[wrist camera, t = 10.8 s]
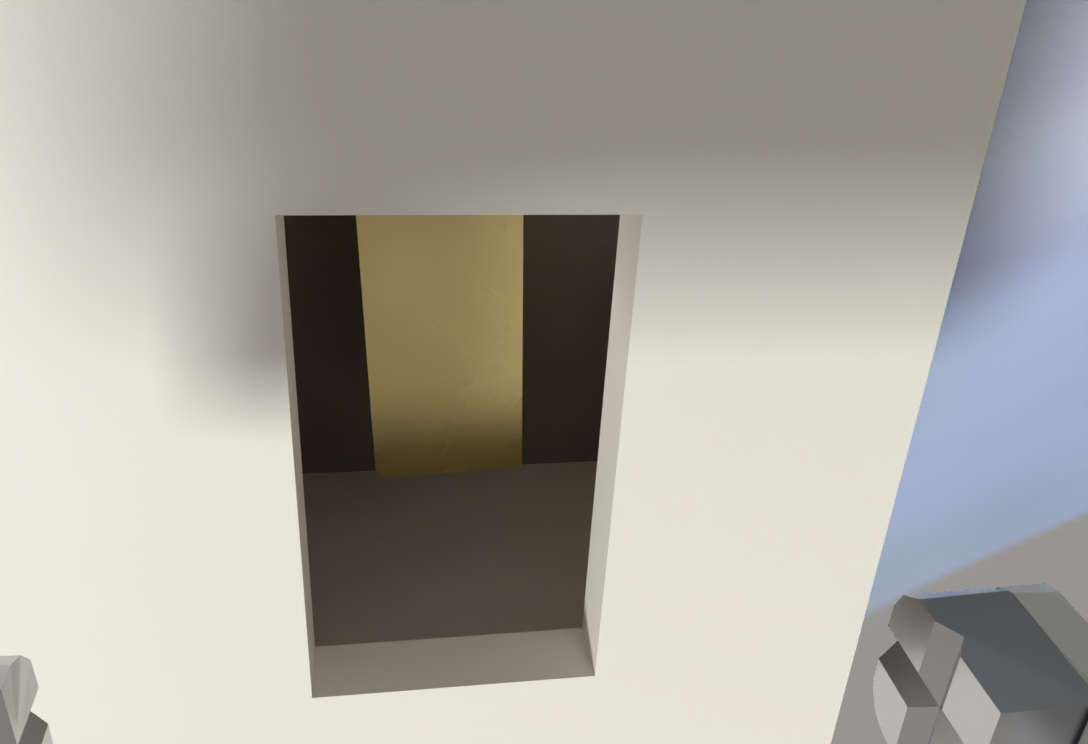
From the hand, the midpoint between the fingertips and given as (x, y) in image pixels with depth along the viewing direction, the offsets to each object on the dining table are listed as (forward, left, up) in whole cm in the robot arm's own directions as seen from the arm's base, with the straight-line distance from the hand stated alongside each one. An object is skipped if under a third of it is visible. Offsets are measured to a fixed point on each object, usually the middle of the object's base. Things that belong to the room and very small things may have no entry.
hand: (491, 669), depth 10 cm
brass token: (0, 0, -12) cm, 12 cm away
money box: (0, 0, -13) cm, 13 cm away
